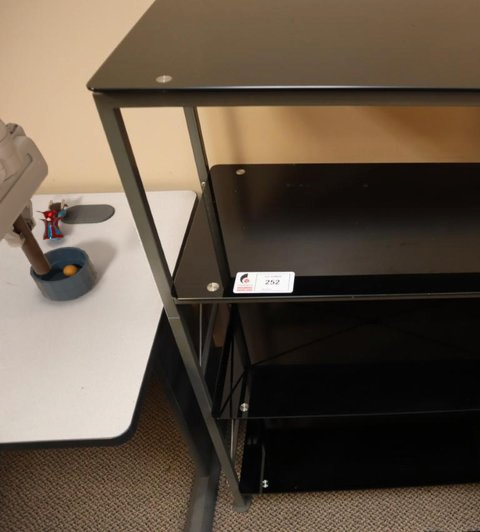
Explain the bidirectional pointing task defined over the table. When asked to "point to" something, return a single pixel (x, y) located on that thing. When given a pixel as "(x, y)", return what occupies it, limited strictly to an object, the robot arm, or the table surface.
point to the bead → (70, 270)
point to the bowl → (62, 286)
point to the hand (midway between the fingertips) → (23, 236)
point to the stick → (31, 247)
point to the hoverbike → (53, 220)
